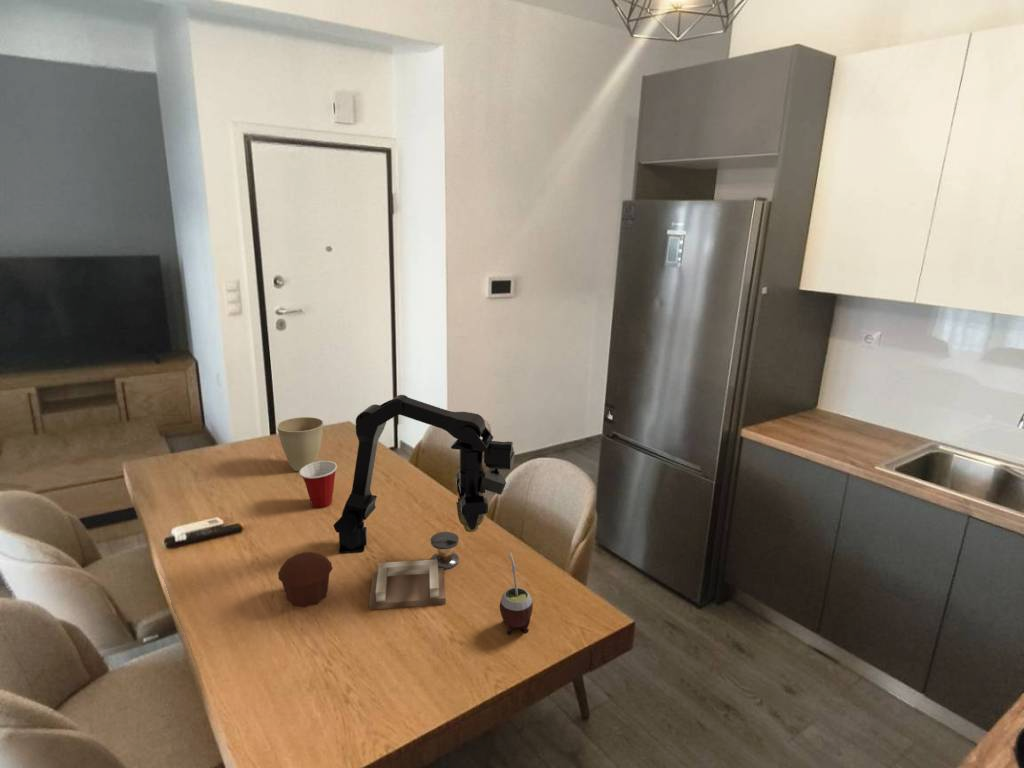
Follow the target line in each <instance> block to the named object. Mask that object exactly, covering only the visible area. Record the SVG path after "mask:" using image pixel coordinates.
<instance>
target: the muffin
mask: <svg viewBox="0 0 1024 768" xmlns="http://www.w3.org/2000/svg"><path fill="white" fill-rule="evenodd" d="M332 569H333V565H332V561H330V560H329V558H327V557H326V556H324V555H322V554H321V553H319V552H313V551H306V552H305V551H304V552H300V553H297V554H295V555H293V556H291V557H289V558H287V560H285V562H283V564H282V565H281V566H280V569H279V571H278V572H277V576H278V580H279V581H281V583H282V587H283V590H284V593H285V596H286V600H287V601H288V603H290V604H291V605H292V606H293V607H301V608H307V607H311V606H315V605H319V603H320V602H321V601H323V600H325V599H326V598H327V593H328V590H329V581H330V573H331V572H332Z"/></svg>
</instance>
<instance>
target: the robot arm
mask: <svg viewBox="0 0 1024 768" xmlns="http://www.w3.org/2000/svg"><path fill="white" fill-rule="evenodd" d="M397 416H403V417H405V418H409V419H411V420H414V421H417V422H421V423H423V424H427V425H430V426H432V427H435V428H439V429H441V430H444V431H446V432H447V433H448V434H449V435H451V437H453V438H454V439H456V440H454V442H453V443H452V445H451V446H450V449H452V450H458V451H459V465H458V472H457V473H456V474H455V484H456V490H457V493H458V496H459V498H461V497H462V496H465V497H464V498H463V499H462V500H461V506H460V507H461V512H462V514H463V515H464V517H465V519H466V521H467V524H468V526H469V528H470V530H474V529H475V526H476V523H477V520H478V517H479V514H485V515H487V514H488V513H489V503H488V500H487V498H486V497H485V496H484V495H480V494H486V491H487V492H491V493H495V494H496V495H500V496H501V495H502V494H503V493H504V489H505V487H506V484H507V482H506V479H505V477H504V476H503V475H502V474H500V471H499V470H503V471H513V469H514V468H513V467H514V464H515V451H514V447H513V443H514V442H512V441H498V440H494V436H493V434H492V433H491V432H490V430H489V429H488V427H487V426H486V422H485V419H484V418H483V416H481V415H480V414H478V413H473V412H467V411H451V410H447V409H444V408H443V407H442V408H441V407H438V406H436V405H431V404H429V403H426V402H423V401H420V400H417V399H415V398H410V397H408V396H407V395H405V394H399V395H397V396H395V397H394V398H392V399H389V400H387V401H385V402H384V403H381V404H371V405H369V406H368V407H367V408H365V409H364V410H363V411H361V412H360V413H359V414H358V415H357V416H356V418H355V434H356V438H357V440H358V445H357V447H358V448H357V454H356V455H357V456H356V462H355V468H354V473H353V479H352V488H351V491H350V494H349V496H348V498H347V500H346V501H345V504H344V507H343V509H342V512H341V517H340V518H338V520H337V521H336V522H335V523H334V524H333V525H332V526H333V529H334V531H335V532H336V533H338V542H339V543H338V545H339V547H338V553H339V554H344V553H358V552H362V553H363V552H364V551H365V547H366V546H367V545H368V532H367V531H368V529H367V526H365V521H366V520H367V519H368V518H369V517H370V516H371V514H372V513H373V511H374V510H375V509H376V501H377V498H378V496H377V495H374V494H372V491H371V485H372V479H373V472H374V467H375V462H376V461H375V460H376V454H377V449H378V442H379V439H380V438H381V435H382V434H383V432H384V430H385V427H386V424H387V423H388V421H390V420H391V419H393V418H395V417H397ZM484 464H485V468H488V469H489V470H484ZM469 495H470V497H467V496H469Z"/></svg>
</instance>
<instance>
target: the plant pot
mask: <svg viewBox="0 0 1024 768" xmlns="http://www.w3.org/2000/svg"><path fill="white" fill-rule="evenodd" d="M276 428H277V433H278V437H279V441H280V443H281V448H282V449H283V452H284V455H285V458H286V460H287V462H288V463H289V465H290V467H291V469H292V470H293V471H295V472H299V471H300V470H301V468H303V467H304V466H306V465H308V464H310V463H313V462H318V457H319V454H320V451H321V450H320V449H321V445H322V440H323V433H324V432H323V431H324V421H323V420H322V419H321V418H317V417H311V416H305V417H303V416H302V417H301V416H300V417H292V418H287V419H284V420H282V421H280V422H278V423H277V425H276Z"/></svg>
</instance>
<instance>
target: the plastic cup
mask: <svg viewBox="0 0 1024 768" xmlns="http://www.w3.org/2000/svg"><path fill="white" fill-rule="evenodd" d="M337 468H338V465H337V463H336V462H334V461H330V460H317V461H316V462H313V463H310V464H308V465H306V466H304V467H303V468H301V470H300V471H298V472H299V475H300V476H301V477H302V479H303V481H304V484H305V487H306V490H307V494H308V497H309V500H310V503H311V505H312V507H313V508H314V509H315V508H316V509H323V508H328V507H329V506H330V505H331V504H332V502H333V497H334V494H333V493H334V488H335V478H336V472H337Z"/></svg>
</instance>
